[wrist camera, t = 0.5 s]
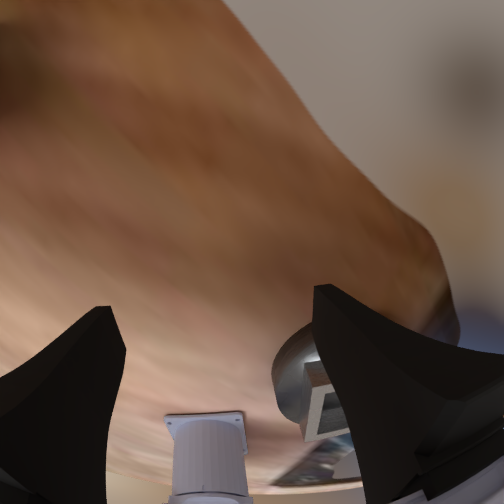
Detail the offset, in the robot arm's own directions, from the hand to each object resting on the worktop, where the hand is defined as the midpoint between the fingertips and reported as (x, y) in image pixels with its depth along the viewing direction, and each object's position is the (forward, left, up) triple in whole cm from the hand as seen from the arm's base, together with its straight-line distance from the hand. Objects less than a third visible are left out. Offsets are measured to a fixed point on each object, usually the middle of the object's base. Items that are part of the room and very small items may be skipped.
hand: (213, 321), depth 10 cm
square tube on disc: (-14, -9, -10) cm, 19 cm away
